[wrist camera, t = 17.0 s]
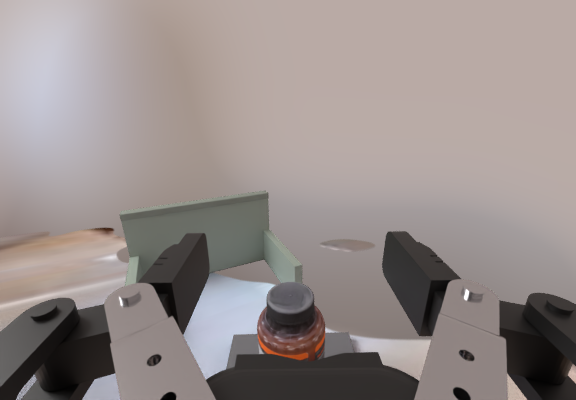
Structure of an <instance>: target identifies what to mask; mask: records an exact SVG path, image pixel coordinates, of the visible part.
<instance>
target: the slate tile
mask: <svg viewBox="0 0 576 400" xmlns="http://www.w3.org/2000/svg"><path fill="white" fill-rule="evenodd" d="M341 353H354V350H353V346H352V343H351V339H350V336H349V333H348V332H346V333H325V355H324V358H326V357H330V356H333V355H337V354H341ZM237 354H259V345H258V334H247V335H234V336H233V341H232V345H231V350H230V354H229V359H228V364H227V368H226V369H229V368H232V367H235V362H236V356H237Z"/></svg>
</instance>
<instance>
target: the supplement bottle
mask: <svg viewBox="0 0 576 400" xmlns="http://www.w3.org/2000/svg"><path fill="white" fill-rule="evenodd" d="M257 332H258V345H259V354H275V355H279V356H284V357H288V358H293V359H297V360H302V361H307V362H309V361H314V360H318V359H322V358H324V355H325V323H324V318H323V316H322V314H321V312H320V311H319V309H318V308H317V307H316V306H314V295H313V292H312V291H311V289H310V288H309V287H307V286H306V285H304V284H301V283H297V282H284V283H281V284H278V285H276V286H274V287H273V288H272V289H271V290H270V291H269V292H268V294H267V307H266V308H265V309H264V310H263V311H262V313H261V315H260V317H259V320H258V325H257Z"/></svg>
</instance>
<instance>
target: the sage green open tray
mask: <svg viewBox="0 0 576 400" xmlns="http://www.w3.org/2000/svg"><path fill="white" fill-rule="evenodd" d="M268 212H269V210H268V192H266V191H259V192H252V193H245V194H238V195H231V196H224V197H217V198H210V199H203V200H196V201H189V202H182V203H175V204H168V205H161V206H154V207H147V208H140V209H133V210H126V211H121V212H120V219H121V222H122V226H123V230H124V234H125V239H126V243H127V247H128V252H129V256H130V260H129V265H128V271H127V277H126V282H125V286H127V285H130V284H135V283H138V281H139V280H140V279H141V278H142V277H143V275H144V274H145V273H146V272H147V271H148V269H149V268H150V267H151V266H152V265H153V263H154V262H155V261H156V260H157V259H158V257H159V256H160V255H161V253H162V252H163V251H164V250H165V249H167V248H169V247H170V246H172V245H173V244H179V242H180V241H181V240H182V238H183V237H184V236H185V234H186V233H205V235H206V238H207V247H208V255H209V264H210V270H209V273H211V272H215V271H219V270H223V269H228V268H231V267H236V266H240V265H244V264H248V263H252V262H255V261H260V260H263V259H264V260H265V261H266V262H267V264H268V265H269V266H270V268H271V269H272V271H273V272H274V274H275V275H276V276H277V278H278V279H279V281H280V282H281V283H284V282H297V283H301V284H302V264H301V263H300V262H299V261H298V260H297V259H296V257H294V255H293V254H292V253H291V252H290V251H289V250H288V249H287V248H286V247H285V246H284V245H283V243H282V242H280V240H279V239H278V238H277V237H276V236H275V235H274V234H273V233H272V232H271V231H270V230H269V213H268Z"/></svg>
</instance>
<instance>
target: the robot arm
mask: <svg viewBox="0 0 576 400" xmlns="http://www.w3.org/2000/svg"><path fill="white" fill-rule="evenodd" d="M382 268H383V273H384V276H385V278H386V280H387V282H388V283H389V285H390V286H391V288H392V290H393V292H394V293H395V295H396V297H397V299H398V300H399V302H400V304H401V305H402V307H403V309H404V311H405V312H406V314H407V316H408V318H409V319H410V321H411V322H412V324H413V326H414V328H415V329H416V331H417V333H418V334H419V336H432V339H431V343H430V346H429V350H428V353H427V357H426V360H425V364H424V367H423V371H422V374H421V378H420V381H418V380H417V379H415V378H414V377H412V376H410V375H408V374H406V373H405V372H402V371H400V370H398V369H395V368H392V367H389V366H385V365H383V364H382V361H381V359H380V356H379V354H378V352H365V353H341V354H337V355H333V356H330V357H326V358H322V359H318V360H314V361H309V362H307V361H302V360H297V359H293V358H288V357H284V356H279V355H275V354H237V356H236V362H235V367H232V368H229V369H226V370H224V371H221V372H219V373H217V374H215V375H213V376H211V377H210V378H208V379H206V380H205V378H204V376H203V374H202V372H201V370H200V368H199V366H198V364H197V362H196V360H195V358H194V356H193V354H192V352H191V350H190V348H189V346H188V345H187V343H186V341H185V339H184V337H183V334H184V332H185V330H186V327H187V325H188V323H189V321H190V318H191V316H192V314H193V311H194V309H195V307H196V305H197V302H198V300H199V298H200V295H201V293H202V291H203V288H204V286H205V284H206V282H207V279H208V276H209V270H210V264H209V255H208V247H207V238H206V235H205V233H186V234H185V236H184V237H183V238H182V240H181V241H180V242H179V244H173V245H172V246H170V247H169V248H167V249H165V250H164V251H163V252H162V253H161V255H160V256H159V257H158V259H157V260H156V261H155V262H154V263H153V265H152V266H151V267H150V268H149V269H148V271H147V272H146V273H145V274H144V275H143V277H142V278H141V279H140V280H139V281H138V283H135V284H130V285H127V286H124V287H122V288H120V289H118V290H116V291H115V292H113V293H112V294H111V295H109V296H108V298H107V299H106V301H105V303H104V304H103V305H99V306H94V307H90V308H85V309H80V310H77V308H76V305H75V302H74V300H72V299H70V298H57V299H52V300H48V301H45V302H42V303H40V304H38V305H35V306H33V307H31V308H30V309H28V310H26V311H25V312H23V313H22V314H21V315H20V316H18V317H17V318H16V319H15V320H14V321H13V322H11V323H10V324H9V325H8V326H7V327H6V328H4V329H3V330H2V331H1V332H0V400H16V398H17V396H18V394H19V392H20V390H21V389H22V388H23V387H24V385H25V384H26V383H27V382H28V381H29V380H30V378H31V377H32V376H33V375H34V374H35V376H36V378H37V381H36V382H35V383H34V384H33V386H32V387H31V388H30V389H29V390H28V392H27V393H26V394H25V395H24V396H23V398H22V399H21V400H82V398H83V397H84V395H85V394H86V392H87V390H88V389H89V387H90V386H91V384H92V382H93V381H94V379H97V378H100V377H104V376H107V375H111V374H114V373H116V378H117V383H118V389H119V394H120V399H121V400H508V391H507V373H508V375H509V376H510V377H511V379H512V380H513V381H514V383H515V384H516V385H517V387H518V388H519V389H520V390H521V392H522V393H523V394H524V396H525V397H526V398H527V400H576V384H575V382H574V381H573V380H572V379H571V378H570V377H569V376H568V373H569V371H570V369H571V367H572V365H573V364H574V365H575V366H576V304H574V303H572V302H570V301H568V300H565V299H563V298H560V297H557V296H554V295H550V294H545V293H533V294H530V295H529V296H528V299H527V302H526V305H520V304H515V303H509V302H505V301H500V300H499V298H498V296H497V295H496V294H495V293H494V292H493V291H492V290H490V289H489V288H487V287H485V286H483V285H481V284H479V283H477V282H473V281H470V280H464V279H461V278H460V277H459V276H458V275H457V274H456V273H455V272H454V271H453V270H452V269H451V268H449V266H447V264H445V263H443V261H442V260H441V259H440V258H439V257H437V255H436V254H435V253H434V252H433V251H432V250H431V249H430V248H429V247H427V246H425V245H423V244H421V243H420V242H416V241H415V240H414V239H413V238H412V237H411V236H410V235H409V234H408V233H407V232H405V231H402V232H388V233H387V235H386V240H385V248H384V255H383V263H382Z"/></svg>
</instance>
